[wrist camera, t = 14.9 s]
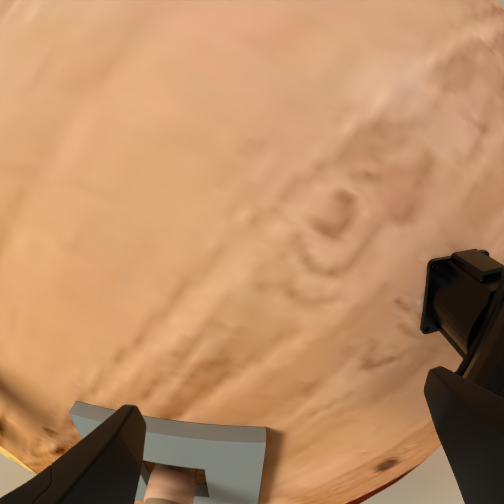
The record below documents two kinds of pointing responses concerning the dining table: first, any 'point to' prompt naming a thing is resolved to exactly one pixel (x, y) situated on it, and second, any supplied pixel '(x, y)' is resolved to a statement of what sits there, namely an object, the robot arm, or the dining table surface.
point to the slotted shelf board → (195, 453)
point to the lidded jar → (171, 485)
